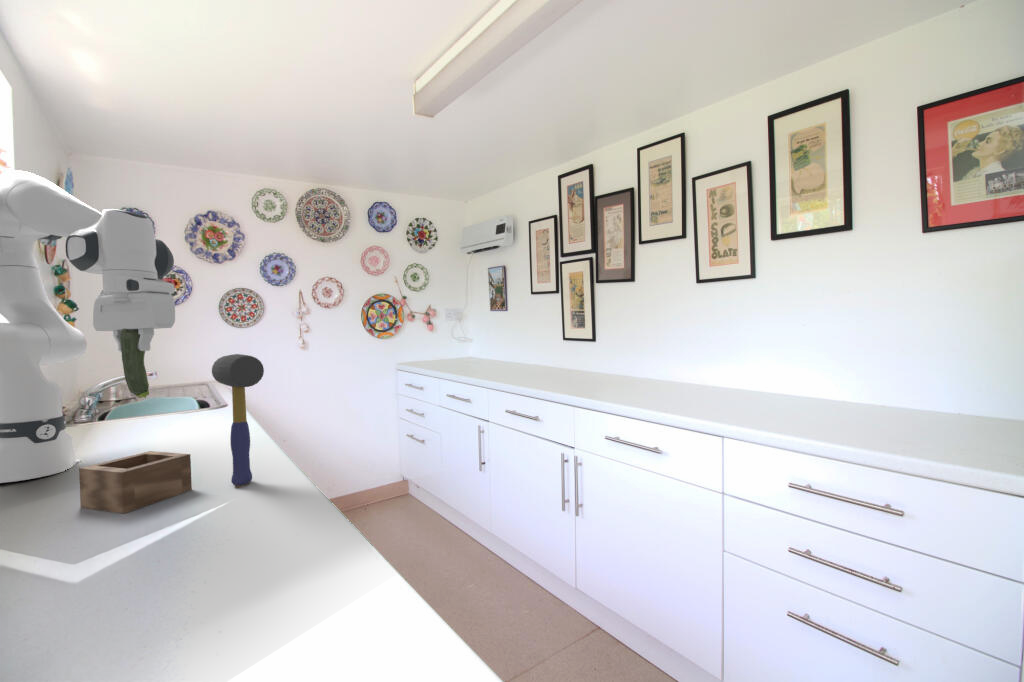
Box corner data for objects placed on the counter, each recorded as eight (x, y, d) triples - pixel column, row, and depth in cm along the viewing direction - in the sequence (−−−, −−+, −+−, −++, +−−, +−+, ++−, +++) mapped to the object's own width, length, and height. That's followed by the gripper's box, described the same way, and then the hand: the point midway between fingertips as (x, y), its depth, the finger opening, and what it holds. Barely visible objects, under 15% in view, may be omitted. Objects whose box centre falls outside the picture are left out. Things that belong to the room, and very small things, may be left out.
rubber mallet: (271, 486, 96) (266, 353, 95) (233, 497, 90) (227, 355, 89) (249, 476, 104) (244, 353, 103) (213, 485, 98) (208, 354, 97)
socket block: (80, 507, 87) (78, 468, 87) (151, 485, 99) (150, 451, 99) (123, 513, 83) (121, 472, 83) (191, 489, 95) (190, 454, 95)
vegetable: (126, 400, 88) (121, 304, 88) (121, 399, 91) (116, 305, 91) (153, 397, 92) (148, 304, 92) (147, 396, 95) (143, 306, 94)
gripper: (81, 288, 91) (84, 353, 92) (147, 281, 85) (150, 350, 85) (116, 291, 97) (119, 351, 98) (180, 284, 91) (183, 349, 91)
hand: (134, 351), depth 91 cm, fingers closed on vegetable, 4 cm apart
